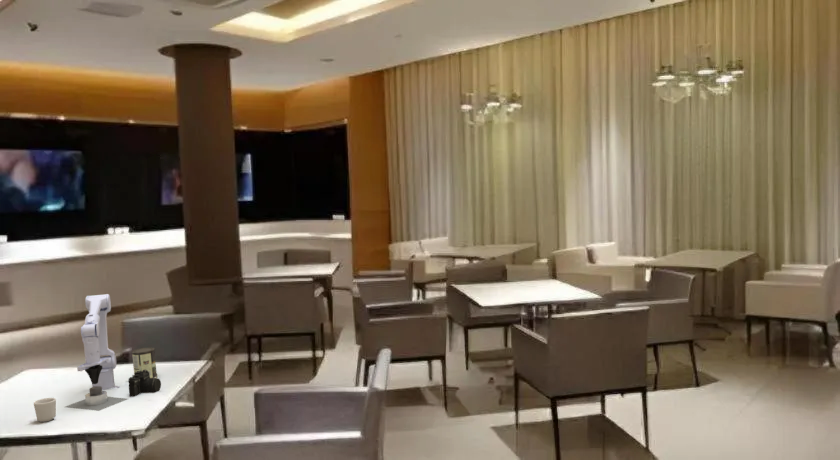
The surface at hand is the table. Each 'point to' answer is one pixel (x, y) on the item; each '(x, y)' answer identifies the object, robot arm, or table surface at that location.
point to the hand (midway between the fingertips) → (95, 383)
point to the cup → (45, 409)
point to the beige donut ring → (96, 399)
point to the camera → (143, 383)
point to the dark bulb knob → (95, 390)
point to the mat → (109, 403)
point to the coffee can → (145, 361)
